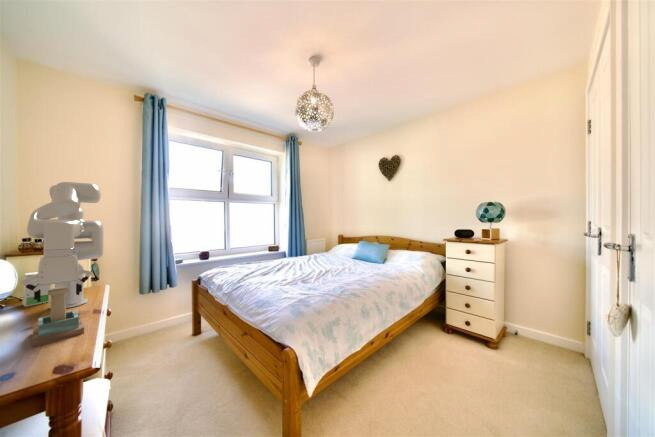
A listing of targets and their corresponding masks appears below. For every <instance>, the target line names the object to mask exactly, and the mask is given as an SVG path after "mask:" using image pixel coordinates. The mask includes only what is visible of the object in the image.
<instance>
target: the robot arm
mask: <svg viewBox="0 0 655 437" xmlns="http://www.w3.org/2000/svg"><path fill="white" fill-rule="evenodd" d="M48 190H49V196H50V199H51V202H49V203H46V204H43V205H41V206H39V207H37V208H36V209H34V210H33V211H32V212H31V214H30V216H29V219H28V222H27V227H26V232H27V233H26V234H27V235H28V236H29V237H31V238H32V239H37V240H39V239H42V240H43V257H40V258H39V262H38V268H37V272H38V274H35V275H33V276H31V277H28V278H26V279H24V278H23V279H22V280H21V282H20V283H21V284H22V285H23V287H24V286H25V287H26V288H28V289H30V290H32V291H34V300H37V302H40V300H41V291H40V288H41V287H43V286H44V285H50V284H51V285H54V288H56V287H64V286H66V287H68V292H66V293H65V304H66V309H69V308H73V307H78V306H82V305H83V304H86V303H88V301H89V299H88V298H87V297H84V283H85V282H86V281H88V280H89V278H90V277H91V275H92V274H93V272H92V271H90V270H87V269H84V267H83V265H82V264H81V263H79V261H83V260H85V261H87V260H94V259H99V258H102V256H103V255H104V226H103V223H102V222H100V221H99V220H84V210H83V209H82V208H81V203H83V204H84V203H85V204H86V203H87V204H98V202H100V200H101V196H102V193H101V189H100V188H99V186H98V185H96V184H94V183H89V182H88V183H85V182H75V181H63V182H59V183H56V184H55V185H51V186H50V188H49V189H48ZM55 218H57V219H55ZM81 239H83V240H81ZM84 239H85V240H84ZM87 239H88V240H87ZM75 240H81V241H75ZM86 240H87V241H86ZM36 278H38V284H37V285H36V286H34V285H32V284H30V283H29V282H30V281H32V280H34V279H36ZM49 309H50V310H51V304H50V305H49Z"/></svg>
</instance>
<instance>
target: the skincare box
mask: <svg viewBox="0 0 655 437" xmlns="http://www.w3.org/2000/svg"><path fill="white" fill-rule="evenodd" d="M35 274H38V271H35V272H25V273H23V280H24V279H26V278H28V277H31V276H33V275H35ZM29 283H30V284H32V285H34V286H36V285H37V284H38V278H36V279H34V280H32V281H30V282H29ZM51 286H52V284H50V285H44V286H43V287H41V288H40V291H41V300H40V302H37V300H34V291H32V290H30V289H28V288H26V287H25V286H24V285H23V292H22V305H23V307H24V308H25V307H31V306H36V305H42V303H43V304H47V303H46V302H48V303H50V302H51V295H48V290H50V289H52V288H51Z"/></svg>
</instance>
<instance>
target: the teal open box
mask: <svg viewBox="0 0 655 437" xmlns="http://www.w3.org/2000/svg"><path fill="white" fill-rule="evenodd" d="M50 317H51V316H50V315H47V316H43V317H38V319H37V320H38V321H37V322H38V326H37V327H33V328H32V347H33V348H35V347H37V346H41V345H44V344H45V345H46V344H48V343H52V342H55V341H56V342H57V341H60V340H64V339H66V338H70V337H74V336H75V337H76V336H79V335H82V334H85V327H84V325H83V323H82V320H81V317H79V314H78V312H77V310H76V309H75V310H71V311H66V319H65V320H60V321H56V322H52V323H51V318H50Z"/></svg>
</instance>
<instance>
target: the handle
mask: <svg viewBox="0 0 655 437" xmlns="http://www.w3.org/2000/svg"><path fill="white" fill-rule="evenodd" d="M66 292H68V287H66V286H64V287H56V288H55V287H52V288H51V289H50V290H48V295H50V297H51V300H50V302H51V303H50V305H51V309H50V313H49V314H50V315H49V316H51V317H50V318H51V323H52V322H56V321H60V320H65V319H66V312H67V308H66V304H65V293H66Z"/></svg>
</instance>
